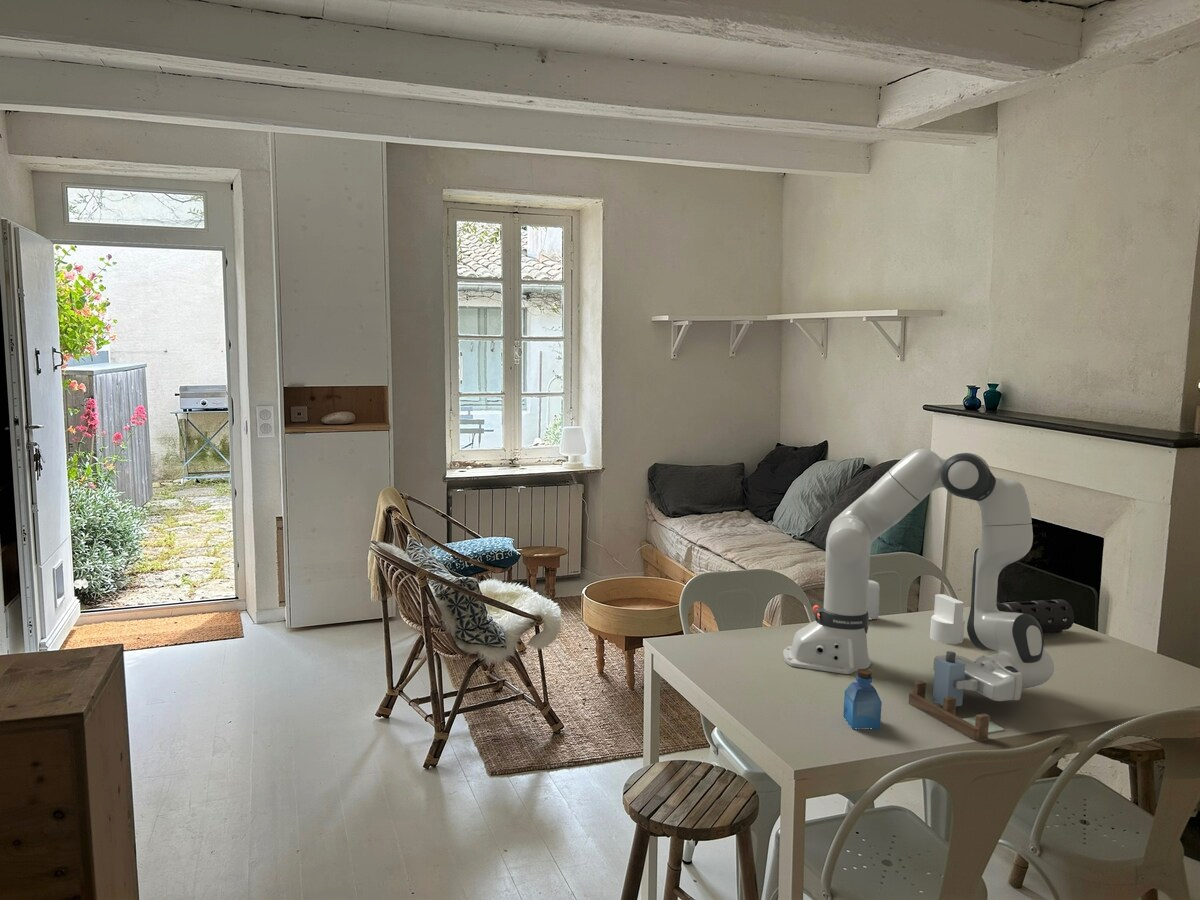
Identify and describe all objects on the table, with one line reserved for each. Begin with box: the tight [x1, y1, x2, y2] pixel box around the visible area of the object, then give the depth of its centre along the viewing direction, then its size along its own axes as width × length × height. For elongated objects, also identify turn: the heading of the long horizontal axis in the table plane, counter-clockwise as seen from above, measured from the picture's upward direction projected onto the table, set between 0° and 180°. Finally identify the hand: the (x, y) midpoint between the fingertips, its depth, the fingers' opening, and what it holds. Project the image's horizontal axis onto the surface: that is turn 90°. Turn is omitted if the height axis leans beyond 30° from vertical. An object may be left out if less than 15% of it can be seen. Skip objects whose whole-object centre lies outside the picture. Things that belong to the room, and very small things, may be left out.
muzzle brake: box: [996, 598, 1075, 635], centre depth 260 cm, size 10×28×10 cm, turn 104°
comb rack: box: [908, 680, 1005, 741], centre depth 200 cm, size 10×21×5 cm, turn 21°
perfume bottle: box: [842, 668, 883, 730], centre depth 196 cm, size 6×6×12 cm
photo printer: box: [867, 579, 881, 621], centre depth 271 cm, size 10×4×12 cm, turn 96°
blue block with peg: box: [932, 650, 965, 707], centre depth 204 cm, size 4×4×12 cm
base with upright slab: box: [929, 593, 966, 645], centre depth 254 cm, size 9×9×12 cm
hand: (946, 680), depth 204 cm, fingers closed on blue block with peg, 4 cm apart
